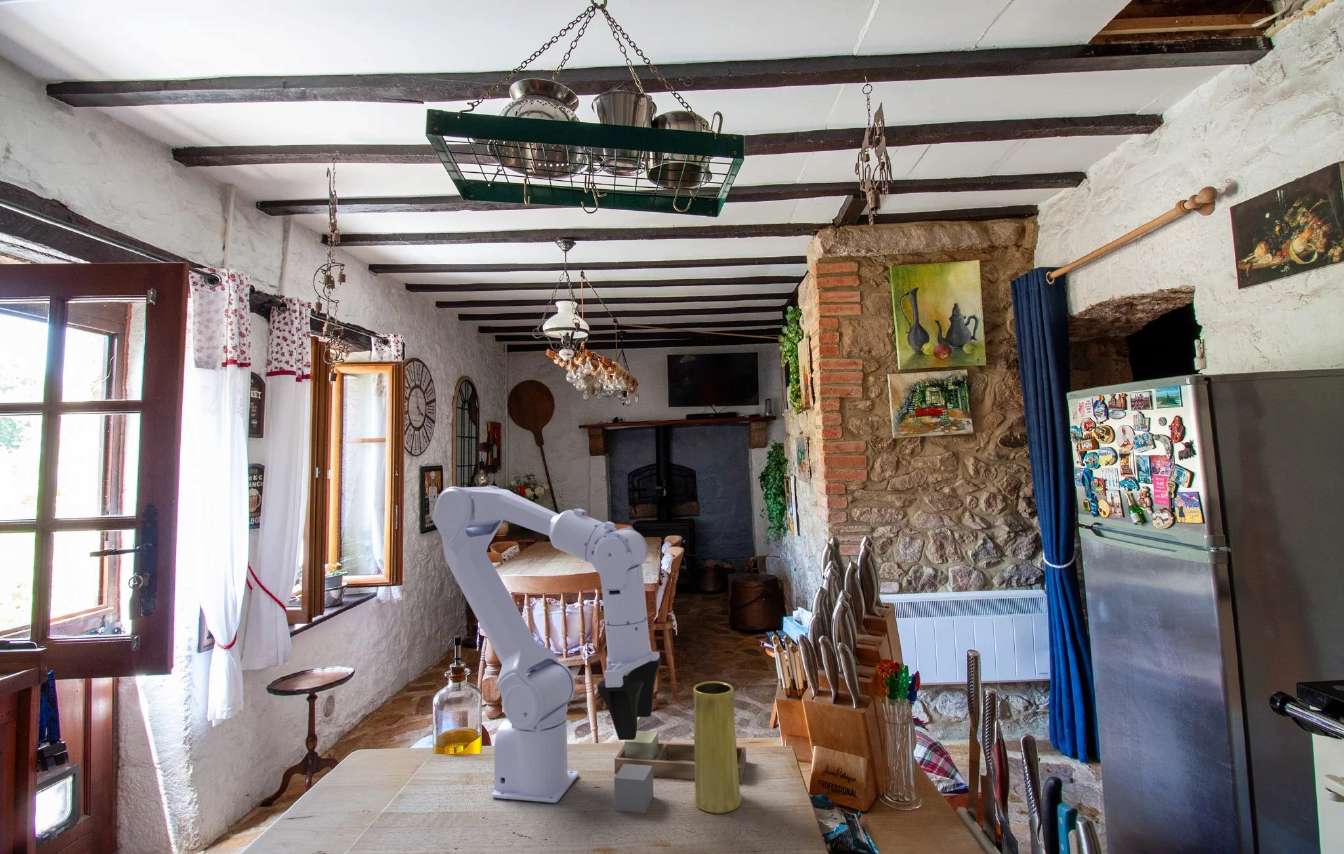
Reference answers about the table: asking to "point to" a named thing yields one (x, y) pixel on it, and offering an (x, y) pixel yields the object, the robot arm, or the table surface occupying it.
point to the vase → (715, 748)
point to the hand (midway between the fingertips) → (635, 726)
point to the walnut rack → (665, 756)
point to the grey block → (634, 788)
